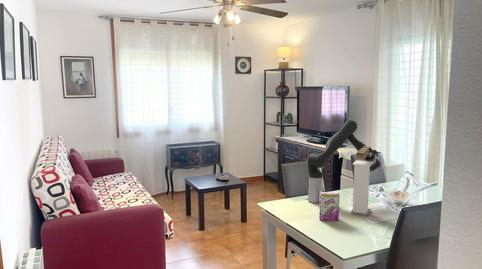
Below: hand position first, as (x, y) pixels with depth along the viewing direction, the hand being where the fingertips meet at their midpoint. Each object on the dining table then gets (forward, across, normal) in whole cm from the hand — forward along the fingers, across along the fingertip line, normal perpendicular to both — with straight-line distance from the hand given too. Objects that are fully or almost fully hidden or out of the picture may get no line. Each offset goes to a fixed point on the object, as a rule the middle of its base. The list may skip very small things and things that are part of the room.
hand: (366, 148), depth 231 cm
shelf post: (-12, 0, +39) cm, 40 cm away
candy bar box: (+6, -15, +49) cm, 52 cm away
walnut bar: (+5, 0, +6) cm, 8 cm away
